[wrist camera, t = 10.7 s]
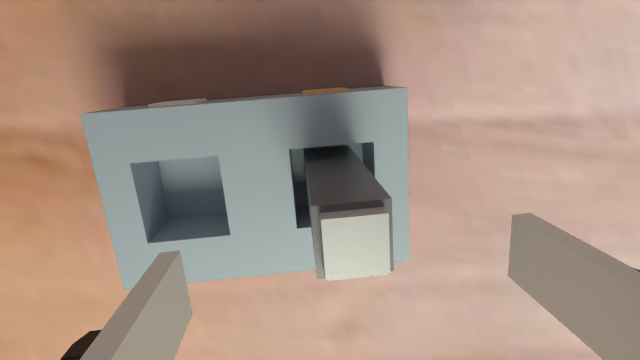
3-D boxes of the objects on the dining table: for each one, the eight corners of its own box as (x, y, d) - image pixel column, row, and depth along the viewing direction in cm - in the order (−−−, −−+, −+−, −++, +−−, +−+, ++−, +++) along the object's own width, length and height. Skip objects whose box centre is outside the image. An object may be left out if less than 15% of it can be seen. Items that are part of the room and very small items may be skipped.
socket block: (155, 250, 31) (124, 289, 25) (123, 104, 28) (79, 110, 22) (388, 227, 32) (409, 260, 26) (384, 83, 29) (407, 84, 23)
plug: (307, 192, 29) (318, 289, 16) (303, 149, 28) (311, 212, 15) (350, 188, 29) (398, 280, 16) (348, 145, 28) (397, 204, 15)
